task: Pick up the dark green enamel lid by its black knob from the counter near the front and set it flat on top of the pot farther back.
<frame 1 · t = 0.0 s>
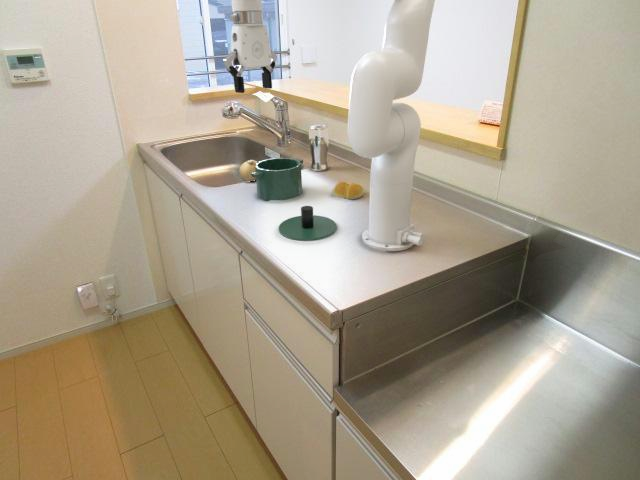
hand: (254, 90, 121), 31 cm above the worktop, tool pointing down, fingers open, 9 cm apart
bread roll: (347, 196, 136), on the worktop
pot: (280, 194, 138), on the worktop
pepper mill: (319, 169, 161), on the worktop
lid: (307, 228, 114), point 1 cm above the worktop
onion: (252, 180, 152), on the worktop
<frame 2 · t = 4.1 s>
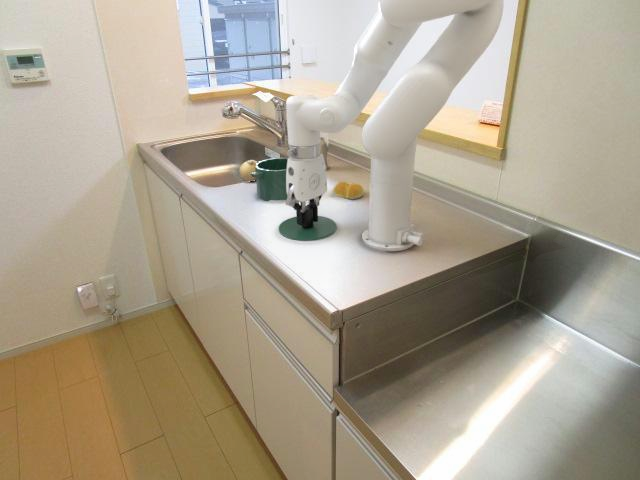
hand: (307, 222, 113), 2 cm above the worktop, tool pointing down, fingers closed on lid, 3 cm apart
lid: (307, 228, 114), point 1 cm above the worktop, touching gripper
everything else where it was.
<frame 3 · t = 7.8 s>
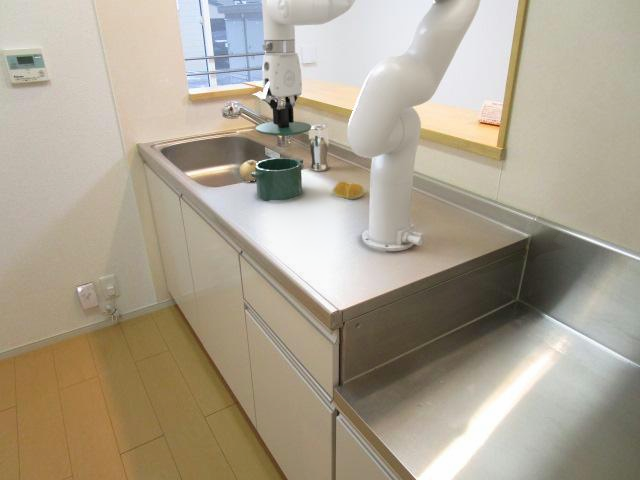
hand: (283, 122, 119), 24 cm above the worktop, tool pointing down, fingers closed on lid, 3 cm apart
lid: (283, 128, 120), point 22 cm above the worktop, touching gripper
everything else where it was.
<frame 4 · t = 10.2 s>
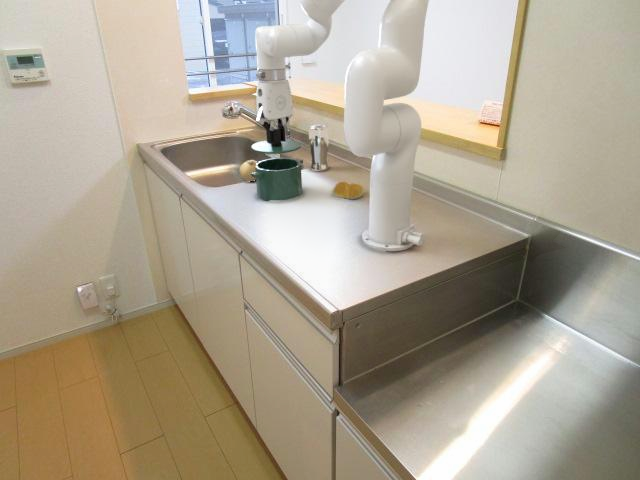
hand: (276, 141, 131), 16 cm above the worktop, tool pointing down, fingers closed on lid, 3 cm apart
lid: (276, 147, 132), point 15 cm above the worktop, touching gripper
everything else where it was.
when the fingers open (11 cm above the worktop, at t = 11.7 s): lid stays where it is, resting on pot.
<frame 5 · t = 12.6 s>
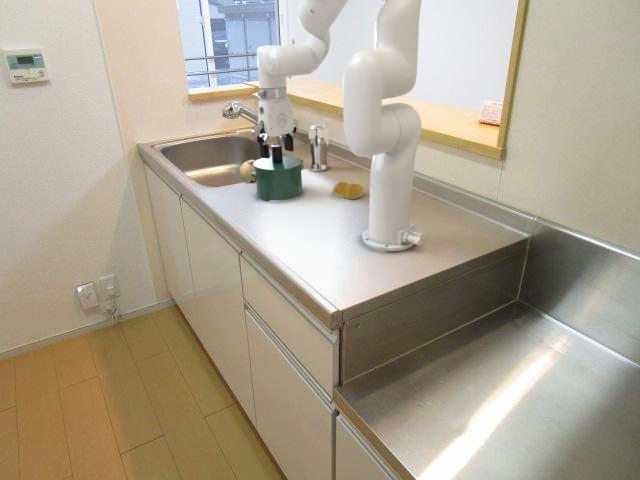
hand: (277, 154, 133), 13 cm above the worktop, tool pointing down, fingers open, 9 cm apart
lid: (277, 164, 134), point 9 cm above the worktop, touching pot
everything else where it was.
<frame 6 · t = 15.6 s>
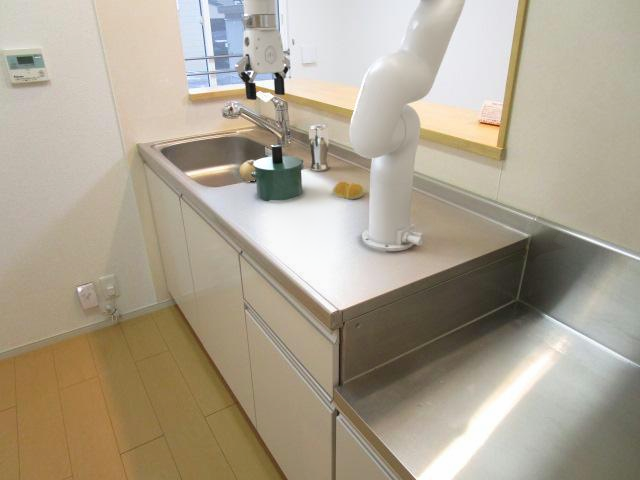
hand: (266, 96, 116), 30 cm above the worktop, tool pointing down, fingers open, 9 cm apart
nothing on the worktop moved.
at the end: lid 0.1 cm off-centre on the pot, point 9.5 cm above the pot's base; lid tilted 0° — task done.
